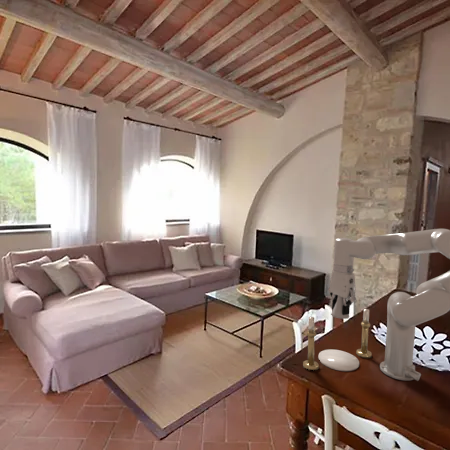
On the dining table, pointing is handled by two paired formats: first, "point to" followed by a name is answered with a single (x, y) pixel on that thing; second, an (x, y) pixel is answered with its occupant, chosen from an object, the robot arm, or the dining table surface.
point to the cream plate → (338, 360)
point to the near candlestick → (311, 347)
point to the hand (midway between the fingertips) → (340, 311)
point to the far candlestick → (364, 336)
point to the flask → (339, 309)
